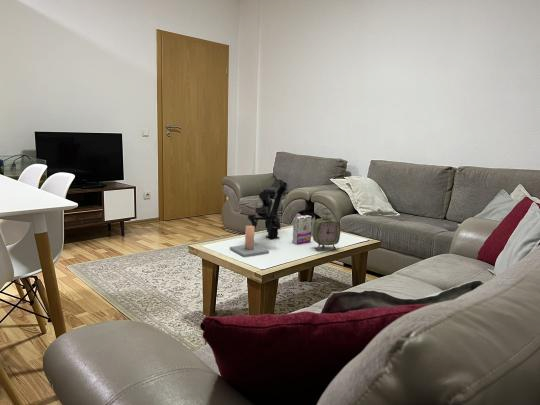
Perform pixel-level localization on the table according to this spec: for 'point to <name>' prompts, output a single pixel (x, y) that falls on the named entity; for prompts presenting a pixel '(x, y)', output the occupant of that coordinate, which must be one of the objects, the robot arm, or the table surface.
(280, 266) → the table surface
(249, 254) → the slate board
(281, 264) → the table surface
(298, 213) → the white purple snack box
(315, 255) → the table surface
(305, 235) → the candy bar box
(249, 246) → the terracotta canister
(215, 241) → the table surface
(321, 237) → the tabletop clock
